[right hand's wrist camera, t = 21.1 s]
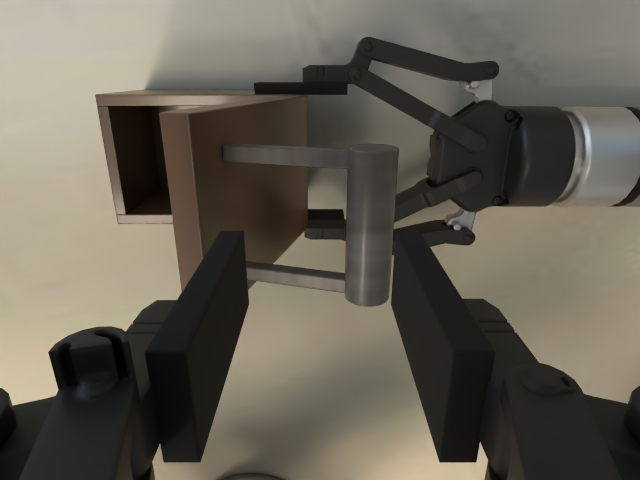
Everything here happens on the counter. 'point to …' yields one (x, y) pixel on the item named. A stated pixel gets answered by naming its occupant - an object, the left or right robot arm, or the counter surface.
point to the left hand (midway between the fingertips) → (260, 157)
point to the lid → (275, 193)
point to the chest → (148, 146)
